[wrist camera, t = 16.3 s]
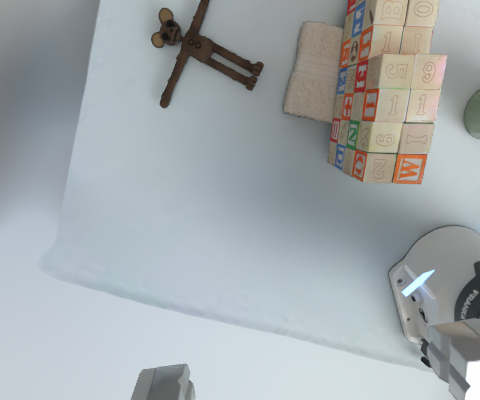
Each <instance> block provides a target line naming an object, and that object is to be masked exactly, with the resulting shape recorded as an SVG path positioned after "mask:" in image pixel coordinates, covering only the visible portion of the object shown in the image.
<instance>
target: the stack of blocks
mask: <svg viewBox="0 0 480 400" xmlns="http://www.w3.org/2000/svg"><path fill="white" fill-rule="evenodd" d="M439 3H440V0H348V8H347V17H346V19H345V26H344V35H343V44H342V50H341V58H340V66H339V69H340V71H339V79H338V86H337V96H336V103H335V111H334V118H333V122H332V130H331V137H330V144H329V152H328V160H327V162H328V163H329V164H331V165H333V166H335V167H337V168H338V169H340V170H341V171H343V172H344V173H345V174H347V175H349V176H351V177H355V178H356V179H358V180H360V181H361V182H365V183H391V182H392V183H396V184H421V183H422V179H423V174H424V169H425V164H426V159H427V154H428V153H429V151H430V146H431V140H432V136H433V130H434V122H435V120H436V116H437V111H438V106H439V100H440V95H441V90H440V89H441V87H442V82H443V77H444V72H445V67H446V61H447V54H429V50H430V45H431V40H432V35H433V29H434V27H435V23H436V18H437V13H438V8H439Z"/></svg>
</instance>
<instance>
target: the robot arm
mask: <svg viewBox="0 0 480 400" xmlns="http://www.w3.org/2000/svg"><path fill="white" fill-rule="evenodd" d="M389 277H390V281H391V285H392V289H393V293H394V297H395V301H396V305H397V308H398V312H399V316H400V320H401V324H402V328H403V332H404V335H405V337H406V338H407V340H408V341H410V342H413V343H416V344H420V345H422V347H421V351H422V352H423V354H424V355H425V356H426V357H427V359H426V358H425V357H422V358H421V361H422V362H423V363H424V364H425V365H426V366H428V367H430V368H432V369H433V370H434V372H435V373H436V375H437V376H438V377H439V378H440V379H442V380H443V381H445V382H447V383H449V392H450V393H451V394H452V395H453V397H454V398H455V399H456V400H480V235H479V234H478V233H477V232H475V231H473V230H471V229H469V228H466V227H461V226H448V227H443V228H439V229H436V230H434V231H432V232H430V233H428V234H426V235H425V236H423V237H422V238H421V239H419V240H418V241H417V242H416V243H415V244H414V245H413V247H412V248H411V249H410V251H409V252H408V254H407V255H406V257H405V258H404V259H403V260H402V261H401V262H399V263H398V264H397V265H395V266H394V267H393V268H392V269H391V270H390V272H389ZM399 279H400V280H399ZM398 280H399V281H398ZM189 376H190V371H189V368H188V365H187V364H179V365H171V366H164V367H157V368H151V369H143V370H142V371H141V373H140V375H139V377H138V380H137V383H136V386H135V389H134V392H133V395H132V398H131V400H195V390H194V386H193V383H192V382H191V381H190V380H189Z"/></svg>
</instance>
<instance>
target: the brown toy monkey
mask: <svg viewBox="0 0 480 400" xmlns="http://www.w3.org/2000/svg"><path fill="white" fill-rule="evenodd" d="M208 3H209V0H201V1H200V3H199V6H198V9H197V11H196V14H195V16H193V21H192V23H191V26H190V29H189V30H188V31H187V33H186V34H185V36H184V37H182V36H181V30H180V27H179V25H178V24H177V23H176V22H175V21H173V14H172V12H171V11H170V10H169V9H167V8H162V9H161V10H160V12H159V19H160V22H161V24H162V25H161V28H160V31H159V32H156V33H154V34H153V35H152V37H151V41H152V44H153V45H154V46H155V47H157V48H162V47H163V46H164V44H168V45H175V44H176V43H177V42H179V41H182V45H181V51H180V54H179V55H178V56H177V58H176V59H177V61H176V64H175V67H174V69H173V72H172V74H171V77H170V78H169V80H168V84H167V86H166V88H165V90H164V92H163V94H162V96H161V97H162V98H161V101H160V106H161V107H162V108H166V107H167V106H168V105H169V102H170V99H171V95H172V92H173V89H174V87H175V85H176V83H177V81H178V78H179V76H180V74H181V72H182V70H183V68H184V66H185V64H186V61H187V59H188V57H189V55H191V56H193V57H194V58H196V59H197V60H198V61H200V62H202V63H205V64H207V65H209V66H211V67H212V68H214V69H216V70H218V71H220V72H222V73H224V74H225V75H227V76H229V77H231V78H232V79H233V80H237V81H239V82H241V83H242V84H244V85H245V86H246V88H247V89H248V90H250V91H252V90H253V87H254V86H255V83H256V82H257V78H256V77H253V76H250V77H246V76H244V75H242V74H240V73H238V72H236V71H235V70H233V69H231V68H229V67H227V66H225V65H223V64H221V63H220V62H218V61H216V60H214V59H212V58H210V57H211V55H212V52H213V51H214V52H215V53H217V54H219V55H221V56H223V57H224V58H226V59H228V60H230V61H232V62H234V63H235V64H237V65H239V66H241V67H243V68H244V69H246V70H248V71H250V72H251V73H252V74H253V75H254V76H257V77H258V76H259V75H260V72H261V71H262V68H263V67H264V64H263V63H262V62H257V63H256V64H252V63H250V61H248V60H245V59H243V58H241V57H239V56H237V55H236V54H234V53H232V52H230V51H228V50H226V49H225V48H223V47H221V46H219V45H217V44H216V43H214V42H213V41H212V40H210V39H209V38H206V37H205V36H200V35H198V32H199V30H200V27H201V24H202V21H203V18H204V15H205V12H206V9H207V6H208Z"/></svg>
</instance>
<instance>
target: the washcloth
mask: <svg viewBox="0 0 480 400" xmlns="http://www.w3.org/2000/svg"><path fill="white" fill-rule="evenodd" d="M343 35H344V28H340V27H337V26H333V25H330V24H325V23H322V22H309V21H306V22H303V26H302V28H301V32H300V37H299V43H298V50H297V60H296V62H295V66H294V71H293V73H292V75H291V77H290V80H289V83H288V88H287V92H286V95H285V101H284V105H283V112H284V113H290V114H294V115H298V117H301V116H303V117H308V118H309V119H314V120H318V121H323V122H326V123H332V122H333V118H334V111H335V103H336V96H337V86H338V79H339V71H340V69H339V66H340V58H341V50H342V44H343Z"/></svg>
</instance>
